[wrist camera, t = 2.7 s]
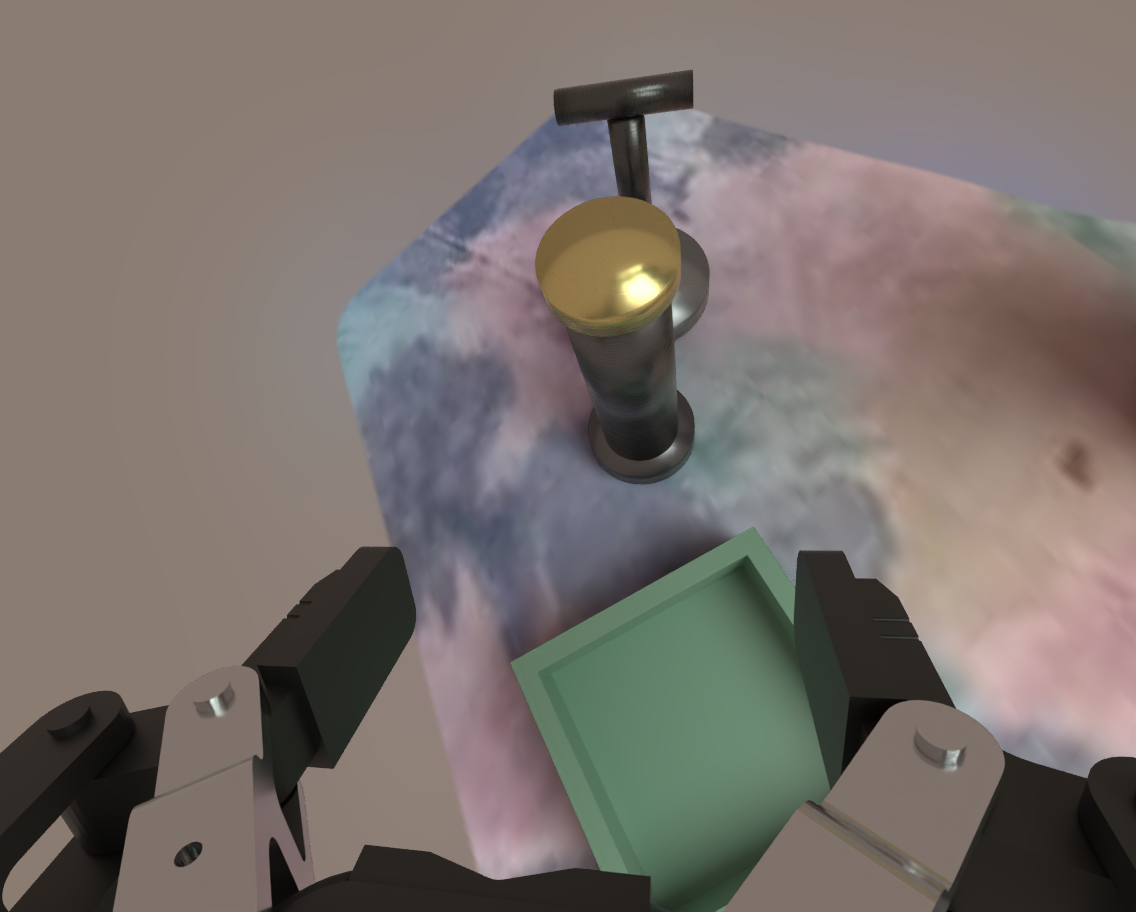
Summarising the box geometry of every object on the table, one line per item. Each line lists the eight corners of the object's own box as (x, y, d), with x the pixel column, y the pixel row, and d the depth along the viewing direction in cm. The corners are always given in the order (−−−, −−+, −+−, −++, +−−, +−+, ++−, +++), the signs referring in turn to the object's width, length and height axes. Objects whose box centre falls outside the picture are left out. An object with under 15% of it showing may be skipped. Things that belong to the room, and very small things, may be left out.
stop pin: (660, 373, 29) (639, 159, 18) (714, 451, 28) (731, 270, 16) (574, 421, 29) (494, 239, 18) (622, 502, 27) (569, 360, 16)
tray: (747, 544, 26) (753, 526, 23) (915, 799, 22) (949, 815, 19) (529, 665, 26) (509, 662, 23) (655, 945, 21) (650, 984, 19)
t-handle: (584, 264, 33) (537, 76, 23) (706, 253, 31) (712, 50, 21) (579, 379, 30) (523, 226, 20) (710, 373, 29) (720, 206, 19)
